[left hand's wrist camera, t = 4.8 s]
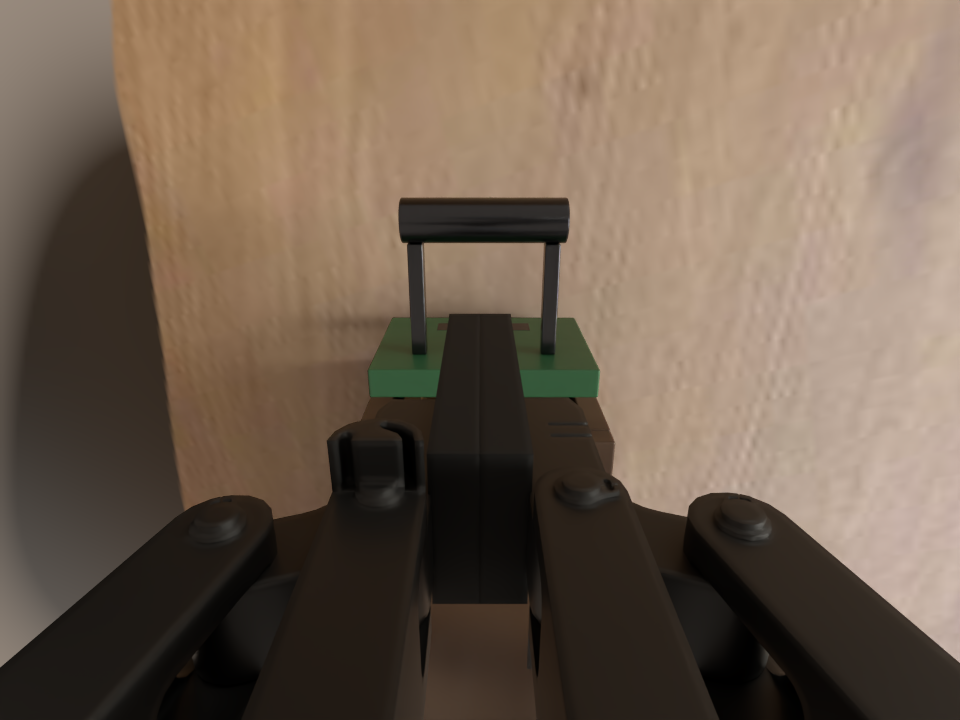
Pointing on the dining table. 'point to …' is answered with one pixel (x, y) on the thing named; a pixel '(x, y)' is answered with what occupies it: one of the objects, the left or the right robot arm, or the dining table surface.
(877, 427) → the dining table surface
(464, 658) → the cabinet
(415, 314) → the drawer
